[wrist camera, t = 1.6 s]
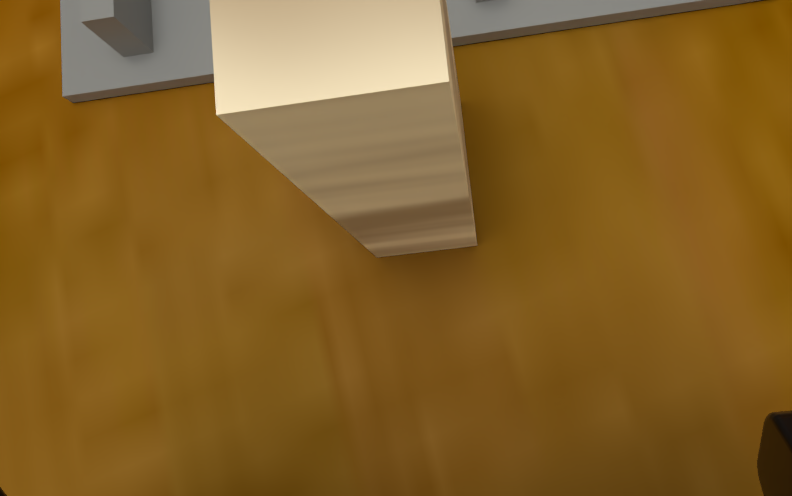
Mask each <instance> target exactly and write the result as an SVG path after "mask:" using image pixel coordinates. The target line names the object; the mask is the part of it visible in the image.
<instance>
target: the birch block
mask: <svg viewBox="0 0 792 496" xmlns="http://www.w3.org/2000/svg"><path fill="white" fill-rule="evenodd" d="M209 1H210V18H211V34H212V51H213V68H214V85H215V101H216V115H217V116H218V117H219V118H220V119H222V120H223V121H224V122H225V123H226V124H227V125H228V126H229V127H231V128H232V129H233V130H234V131H235V132H236V133H237V134H238V135H240V136H241V137H242V138H243V139H244V140H245V141H246V142H247V143H249V144H250V145H251V146H252V147H253V148H254V149H255V150H256V151H258V152H259V153H260V154H261V155H262V156H263V157H264V158H265V159H267V160H268V161H269V162H270V163H271V164H272V165H273V166H274V167H276V168H277V169H278V170H279V171H280V172H281V173H282V174H283V175H285V176H286V177H287V178H288V179H289V180H290V181H291V182H292V183H294V184H295V185H296V186H297V187H298V188H299V189H300V190H301V191H303V192H304V193H305V194H306V195H307V196H308V197H309V198H311V199H312V200H313V201H314V202H315V203H316V204H317V205H318V206H320V207H321V208H322V209H323V210H324V211H325V212H326V213H327V214H329V215H330V216H331V217H332V218H333V219H334V220H335V221H336V222H338V223H339V224H340V225H341V226H342V227H343V228H344V229H345V230H347V231H348V232H349V233H350V234H351V235H352V236H353V237H354V238H356V239H357V240H358V241H359V242H360V243H361V244H362V245H363V246H365V247H366V248H367V249H368V250H369V251H370V252H371V253H372V254H374V255H375V256H376V257H385V256H394V255H402V254H411V253H419V252H428V251H436V250H445V249H453V248H462V247H470V246H477V238H476V229H475V221H474V212H473V204H472V195H471V187H470V178H469V169H468V161H467V152H466V144H465V135H464V127H463V118H462V110H461V101H460V94H459V87H458V80H457V73H456V66H455V59H454V52H453V45H452V38H451V31H450V24H449V17H448V10H447V3H446V0H209Z"/></svg>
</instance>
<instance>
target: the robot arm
mask: <svg viewBox="0 0 792 496" xmlns="http://www.w3.org/2000/svg"><path fill="white" fill-rule="evenodd" d="M757 468H758V476H759V480H760V484H761V487H762V491H763V494H764V496H792V411H781V412H773V413H770V414H769V415H768V416H767V417H766V419H765V422H764V426H763V432H762V437H761V443H760V448H759V454H758V460H757ZM0 496H7V495H6V494H5V493H4V491H3V490H2V489H1V487H0Z"/></svg>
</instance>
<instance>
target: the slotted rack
mask: <svg viewBox="0 0 792 496" xmlns="http://www.w3.org/2000/svg"><path fill="white" fill-rule="evenodd" d="M754 1H761V0H446V3H447V10H448V17H449V24H450V31H451V38H452V45H453V46H459V45H465V44H472V43H479V42H485V41H492V40H499V39H506V38H512V37H519V36H526V35H533V34H539V33H546V32H553V31H559V30H566V29H573V28H580V27H586V26H593V25H600V24H606V23H613V22H620V21H627V20H633V19H640V18H647V17H654V16H660V15H667V14H674V13H680V12H687V11H694V10H701V9H707V8H714V7H721V6H727V5H734V4H741V3H748V2H754ZM60 8H61V51H62V93H63V97H64V98H66V99H68V100H69V101H71V102H72V103H75V102H82V101H89V100H96V99H102V98H109V97H116V96H123V95H129V94H136V93H143V92H149V91H156V90H163V89H170V88H176V87H183V86H190V85H196V84H203V83H210V82H214V68H213V51H212V34H211V18H210V1H209V0H60Z"/></svg>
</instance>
